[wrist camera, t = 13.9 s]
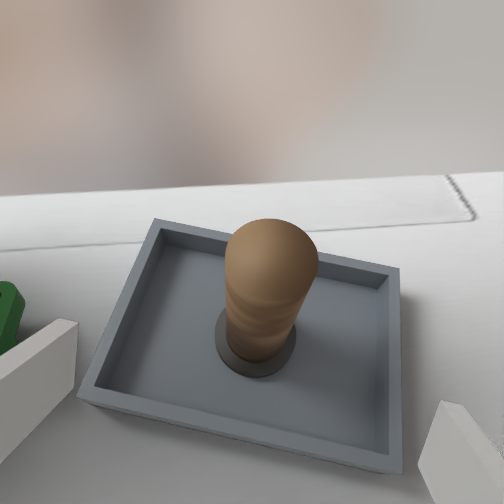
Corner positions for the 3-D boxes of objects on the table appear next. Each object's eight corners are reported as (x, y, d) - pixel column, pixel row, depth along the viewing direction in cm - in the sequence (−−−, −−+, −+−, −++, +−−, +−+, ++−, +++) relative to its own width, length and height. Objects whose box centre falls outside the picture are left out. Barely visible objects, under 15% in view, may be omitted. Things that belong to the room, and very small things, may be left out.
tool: (205, 367, 25) (191, 300, 15) (225, 293, 29) (225, 196, 18) (287, 386, 25) (330, 330, 15) (299, 308, 28) (340, 219, 18)
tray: (93, 405, 25) (75, 396, 22) (161, 241, 32) (154, 218, 29) (380, 473, 24) (402, 474, 21) (382, 287, 31) (399, 268, 28)
